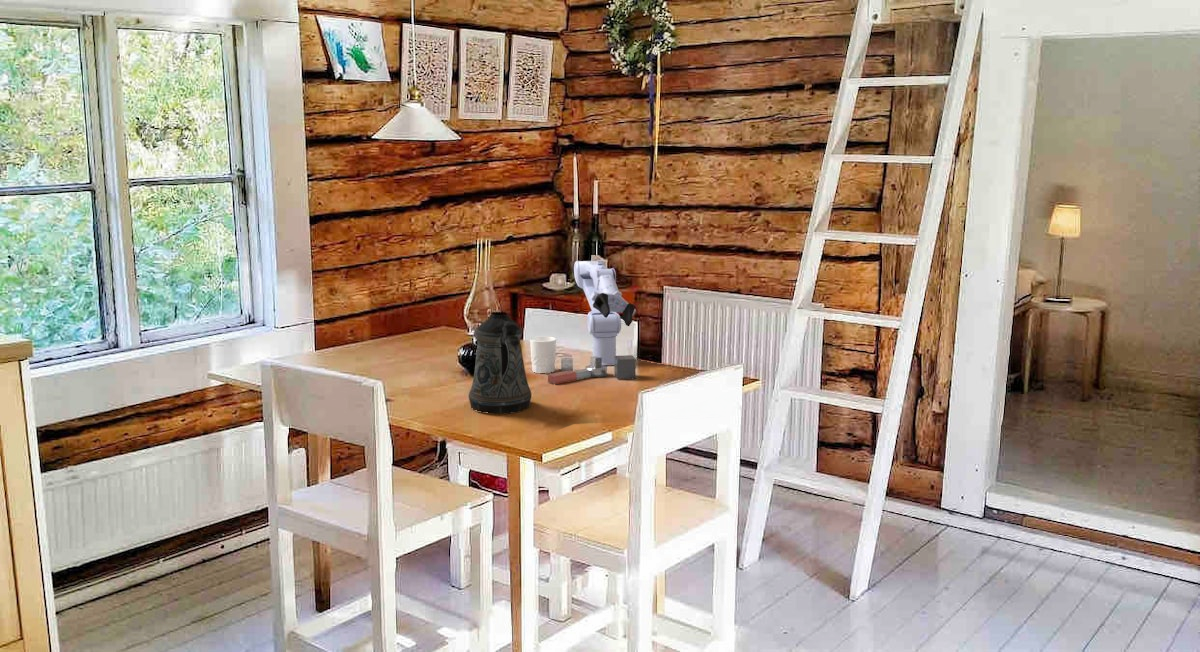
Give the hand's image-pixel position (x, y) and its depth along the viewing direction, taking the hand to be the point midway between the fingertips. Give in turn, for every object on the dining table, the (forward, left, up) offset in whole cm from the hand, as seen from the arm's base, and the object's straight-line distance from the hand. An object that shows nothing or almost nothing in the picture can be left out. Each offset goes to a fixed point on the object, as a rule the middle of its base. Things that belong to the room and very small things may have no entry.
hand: (618, 319), depth 291 cm
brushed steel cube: (-1, +2, -18) cm, 18 cm away
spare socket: (-11, -14, -18) cm, 25 cm away
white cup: (-13, -21, -18) cm, 31 cm away
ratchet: (-2, -12, -18) cm, 21 cm away
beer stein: (+27, -35, -18) cm, 48 cm away
